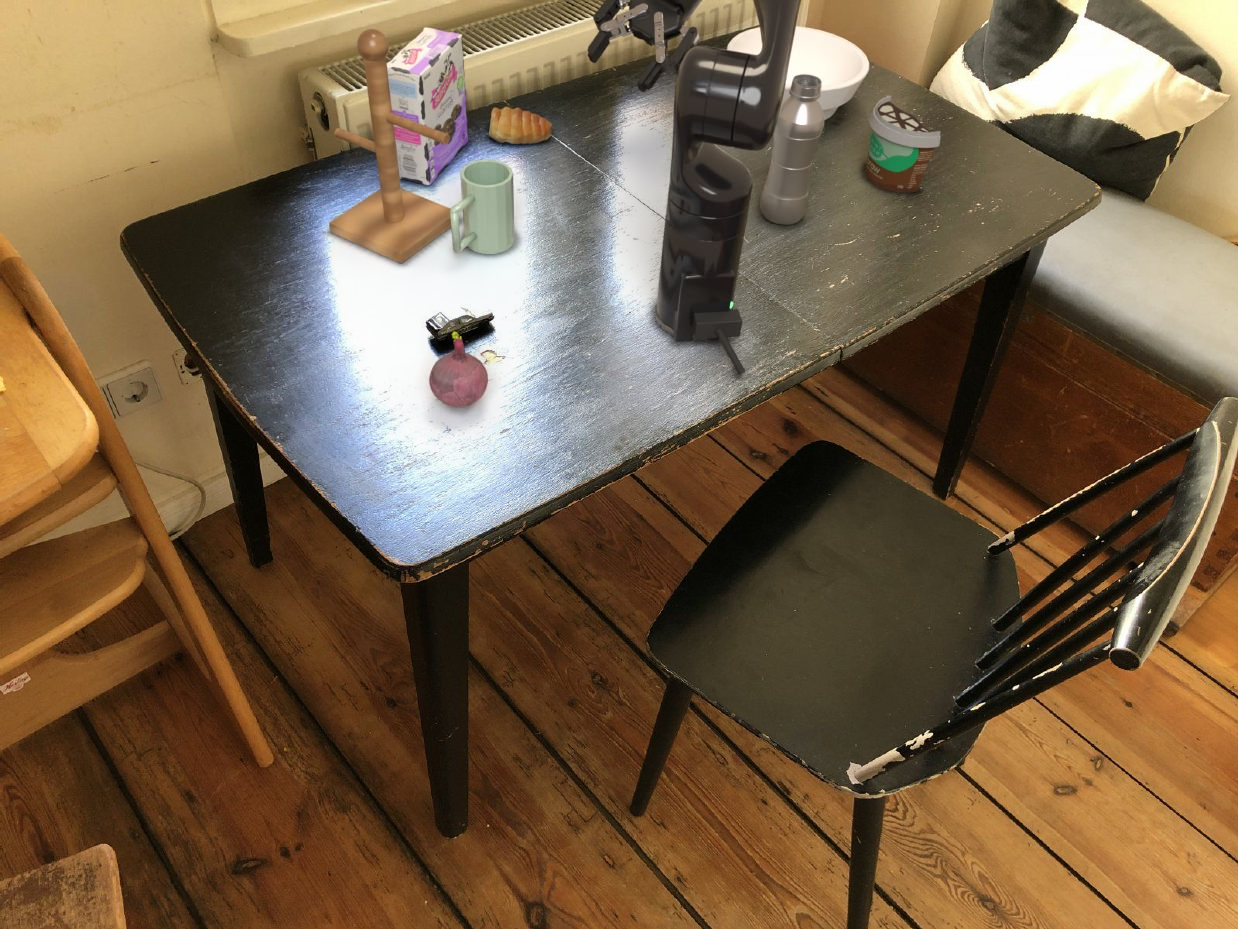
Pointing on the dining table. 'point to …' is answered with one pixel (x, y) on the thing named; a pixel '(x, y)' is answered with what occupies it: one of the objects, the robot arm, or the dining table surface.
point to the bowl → (816, 63)
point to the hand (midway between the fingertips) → (615, 73)
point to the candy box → (429, 102)
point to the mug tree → (389, 173)
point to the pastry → (518, 126)
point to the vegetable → (458, 377)
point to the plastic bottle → (793, 152)
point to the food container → (898, 148)
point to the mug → (485, 208)
